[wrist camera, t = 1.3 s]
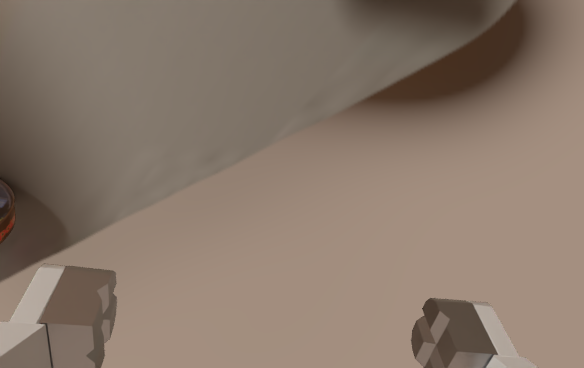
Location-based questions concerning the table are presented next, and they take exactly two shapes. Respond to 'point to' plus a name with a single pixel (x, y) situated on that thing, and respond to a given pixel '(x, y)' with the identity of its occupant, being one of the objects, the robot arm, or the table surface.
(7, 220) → the tin
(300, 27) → the table surface
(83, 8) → the table surface
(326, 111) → the table surface
